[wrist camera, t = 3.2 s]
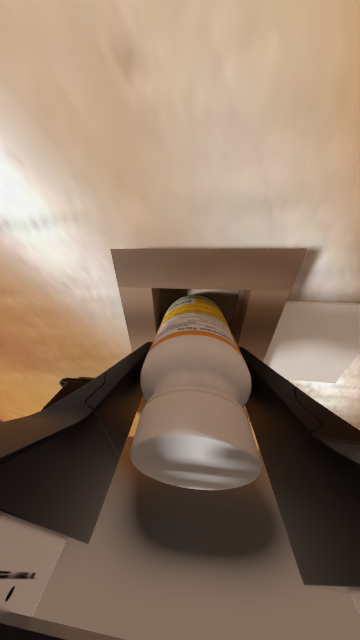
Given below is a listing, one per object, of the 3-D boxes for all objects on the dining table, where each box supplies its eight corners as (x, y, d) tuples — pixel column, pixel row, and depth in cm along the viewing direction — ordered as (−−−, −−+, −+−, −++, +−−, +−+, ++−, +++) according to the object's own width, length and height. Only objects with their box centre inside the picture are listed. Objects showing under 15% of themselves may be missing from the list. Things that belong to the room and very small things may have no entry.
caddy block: (245, 366, 15) (254, 385, 13) (145, 359, 16) (137, 376, 14) (281, 249, 10) (306, 248, 8) (127, 249, 11) (110, 249, 9)
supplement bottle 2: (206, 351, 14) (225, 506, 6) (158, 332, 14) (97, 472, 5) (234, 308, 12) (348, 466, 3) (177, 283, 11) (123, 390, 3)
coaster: (330, 378, 15) (335, 383, 15) (248, 372, 16) (249, 376, 15) (386, 303, 11) (396, 306, 10) (271, 300, 12) (275, 302, 11)
